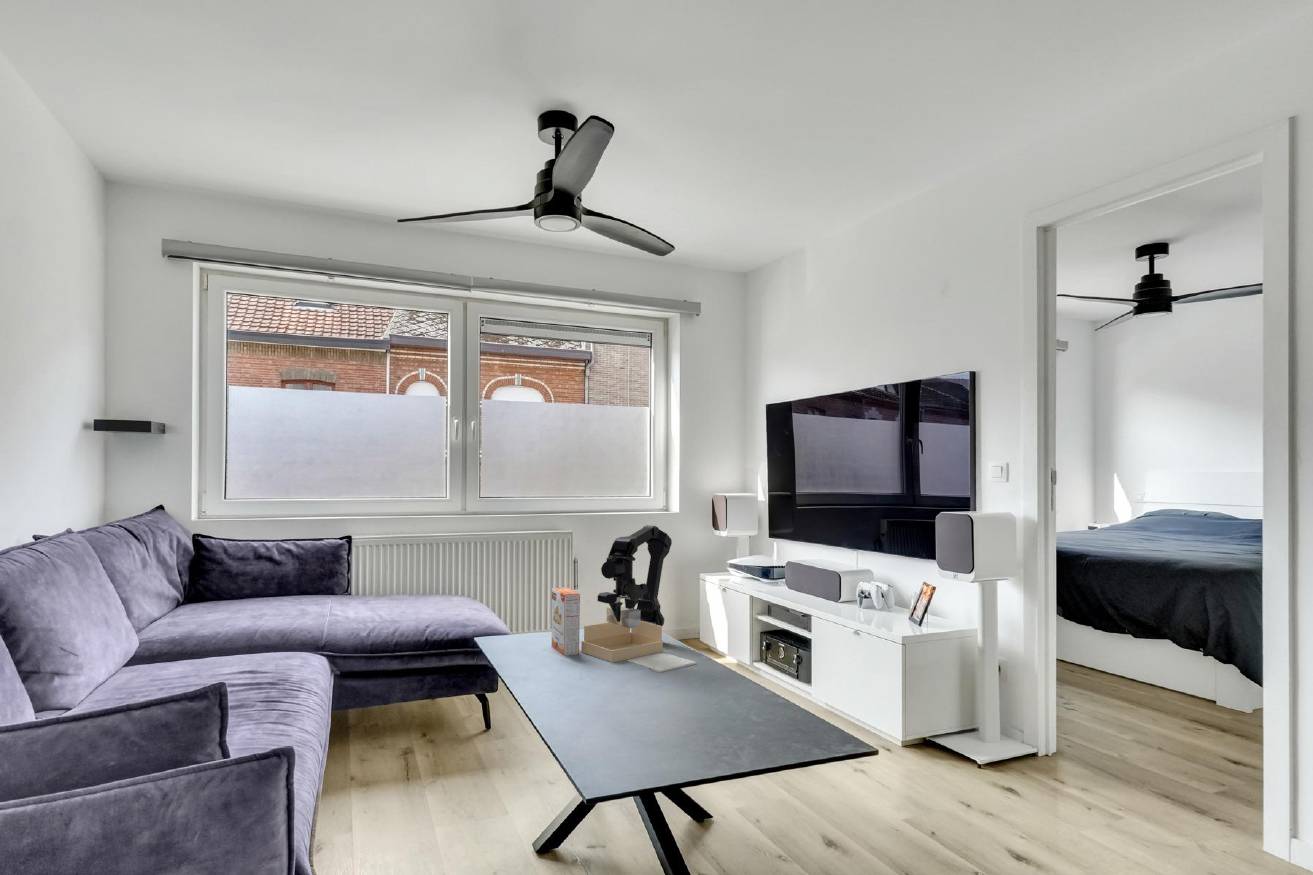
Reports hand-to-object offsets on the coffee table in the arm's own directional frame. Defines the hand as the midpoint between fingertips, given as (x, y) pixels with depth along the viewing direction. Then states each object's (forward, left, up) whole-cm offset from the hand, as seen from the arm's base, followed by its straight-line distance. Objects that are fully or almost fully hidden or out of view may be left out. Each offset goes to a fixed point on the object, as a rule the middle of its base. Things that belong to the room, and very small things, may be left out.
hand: (623, 620), depth 258 cm
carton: (0, -1, -11) cm, 11 cm away
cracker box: (+14, -15, -11) cm, 23 cm away
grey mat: (-2, +17, -11) cm, 21 cm away
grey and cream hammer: (0, 0, -1) cm, 1 cm away
